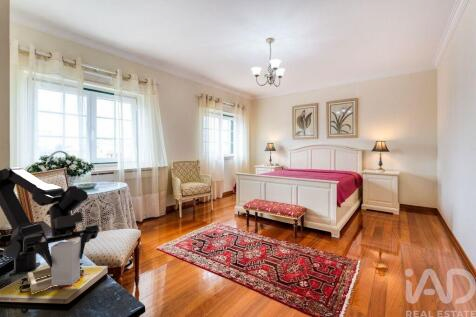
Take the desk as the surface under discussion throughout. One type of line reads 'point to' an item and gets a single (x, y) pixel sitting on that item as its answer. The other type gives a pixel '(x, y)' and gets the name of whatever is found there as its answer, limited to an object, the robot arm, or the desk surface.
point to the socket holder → (40, 284)
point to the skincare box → (65, 263)
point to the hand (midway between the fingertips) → (66, 262)
